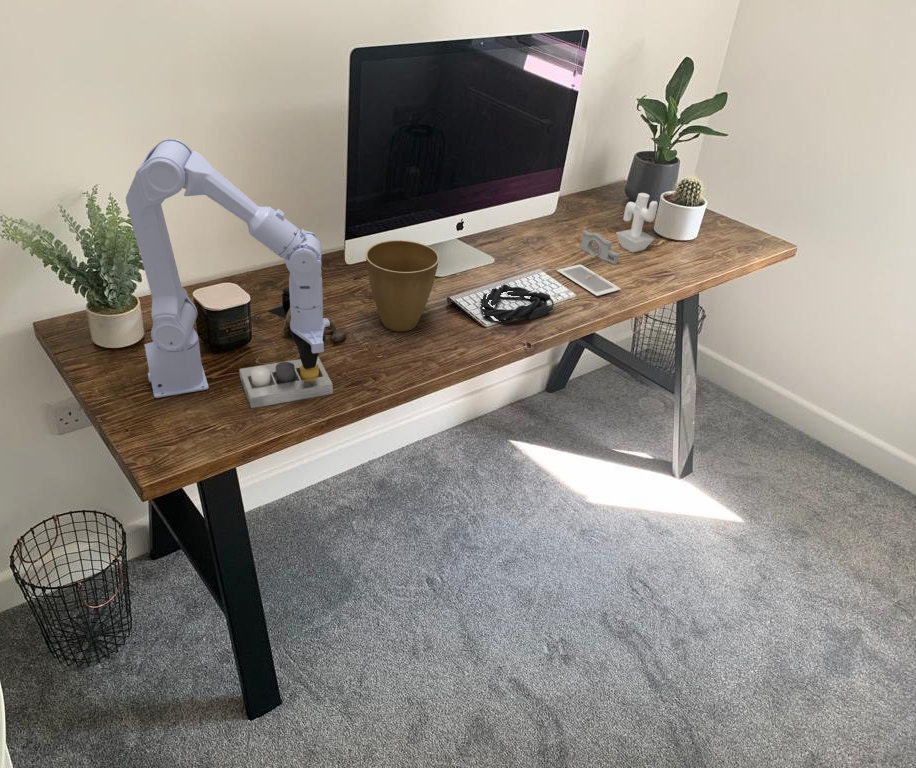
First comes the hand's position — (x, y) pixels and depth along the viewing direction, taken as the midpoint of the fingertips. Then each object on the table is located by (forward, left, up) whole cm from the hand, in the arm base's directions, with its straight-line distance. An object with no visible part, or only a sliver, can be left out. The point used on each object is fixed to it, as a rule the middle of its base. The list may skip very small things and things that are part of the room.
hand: (308, 366), depth 150 cm
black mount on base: (+5, +30, -4) cm, 30 cm away
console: (-4, 0, -4) cm, 6 cm away
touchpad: (+75, +22, -4) cm, 78 cm away
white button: (-9, 0, -2) cm, 9 cm away
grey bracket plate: (+85, +34, -4) cm, 92 cm away
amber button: (0, 0, -3) cm, 3 cm away
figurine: (+97, +36, -4) cm, 104 cm away
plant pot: (+24, +16, -4) cm, 29 cm away
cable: (+50, +15, -4) cm, 52 cm away
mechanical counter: (+5, +16, -4) cm, 18 cm away
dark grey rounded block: (-4, 0, -2) cm, 5 cm away
